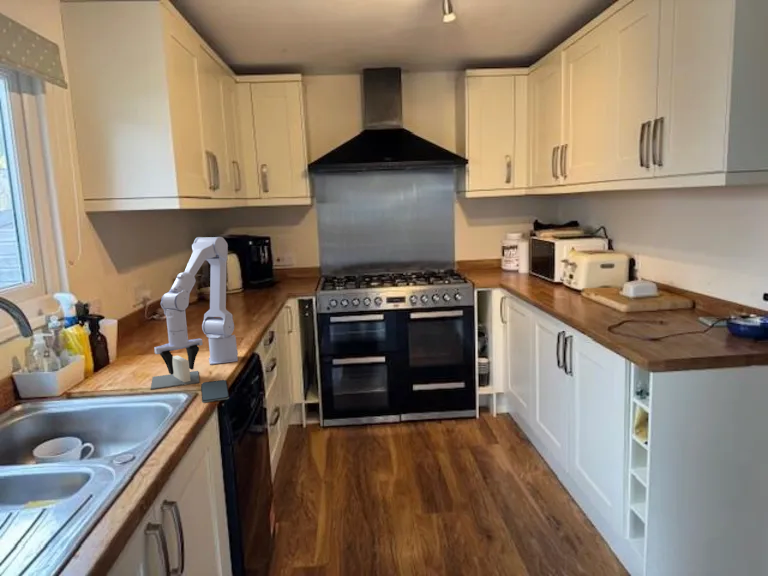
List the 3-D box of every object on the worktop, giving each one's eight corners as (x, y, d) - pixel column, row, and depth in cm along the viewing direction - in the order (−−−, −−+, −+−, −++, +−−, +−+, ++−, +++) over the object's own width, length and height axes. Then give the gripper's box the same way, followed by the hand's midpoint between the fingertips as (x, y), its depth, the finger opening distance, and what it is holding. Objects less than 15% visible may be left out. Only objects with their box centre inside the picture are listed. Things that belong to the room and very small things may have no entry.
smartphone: (201, 400, 150) (200, 382, 164) (202, 406, 151) (201, 387, 165) (229, 396, 153) (226, 379, 167) (229, 402, 153) (226, 384, 167)
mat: (198, 371, 179) (198, 370, 179) (199, 382, 167) (199, 381, 167) (152, 377, 174) (152, 376, 174) (150, 389, 163) (150, 388, 163)
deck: (180, 374, 175) (178, 355, 174) (190, 380, 169) (188, 360, 167) (173, 375, 174) (171, 356, 173) (184, 382, 167) (182, 362, 166)
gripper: (194, 323, 176) (198, 363, 179) (149, 331, 167) (153, 373, 169) (203, 327, 171) (207, 367, 173) (157, 335, 162) (161, 378, 164)
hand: (181, 371), depth 171 cm, fingers open, 6 cm apart
